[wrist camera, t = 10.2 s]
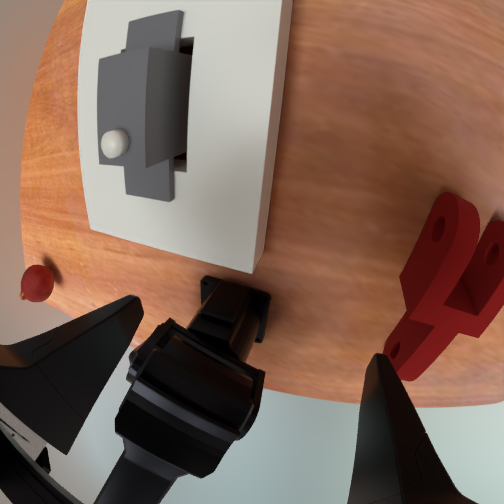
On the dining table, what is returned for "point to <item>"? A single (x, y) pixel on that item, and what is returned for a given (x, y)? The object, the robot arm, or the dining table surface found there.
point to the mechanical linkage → (447, 285)
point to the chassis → (197, 129)
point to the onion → (37, 283)
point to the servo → (145, 105)
